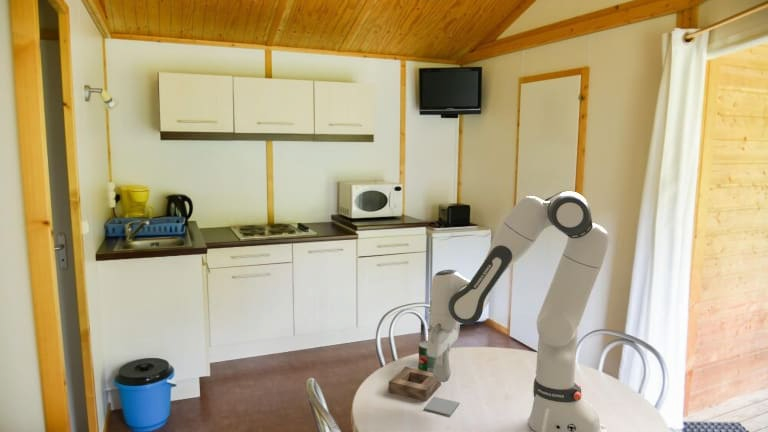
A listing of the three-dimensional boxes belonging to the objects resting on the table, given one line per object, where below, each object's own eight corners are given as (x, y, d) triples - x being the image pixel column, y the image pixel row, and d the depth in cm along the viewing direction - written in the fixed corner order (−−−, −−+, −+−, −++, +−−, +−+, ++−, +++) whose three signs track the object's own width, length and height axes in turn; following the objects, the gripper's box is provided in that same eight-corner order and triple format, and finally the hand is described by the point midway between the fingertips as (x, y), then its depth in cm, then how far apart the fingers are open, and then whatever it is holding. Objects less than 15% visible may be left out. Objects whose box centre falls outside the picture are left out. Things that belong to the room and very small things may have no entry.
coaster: (459, 404, 167) (459, 402, 167) (450, 416, 159) (450, 414, 159) (434, 398, 171) (434, 396, 171) (423, 409, 163) (423, 408, 163)
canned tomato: (413, 371, 192) (414, 344, 190) (428, 366, 197) (428, 339, 196) (429, 378, 186) (429, 350, 185) (443, 372, 191) (444, 344, 190)
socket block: (440, 385, 181) (441, 374, 180) (426, 401, 168) (426, 390, 168) (405, 377, 187) (405, 366, 187) (388, 392, 175) (388, 381, 174)
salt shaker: (449, 384, 160) (451, 345, 159) (431, 382, 161) (433, 343, 160) (451, 376, 166) (452, 338, 164) (433, 374, 167) (435, 337, 166)
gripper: (441, 331, 151) (440, 375, 152) (463, 313, 169) (461, 352, 170) (422, 327, 154) (421, 371, 155) (445, 310, 172) (444, 349, 173)
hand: (442, 361), depth 163 cm, fingers closed on salt shaker, 4 cm apart
